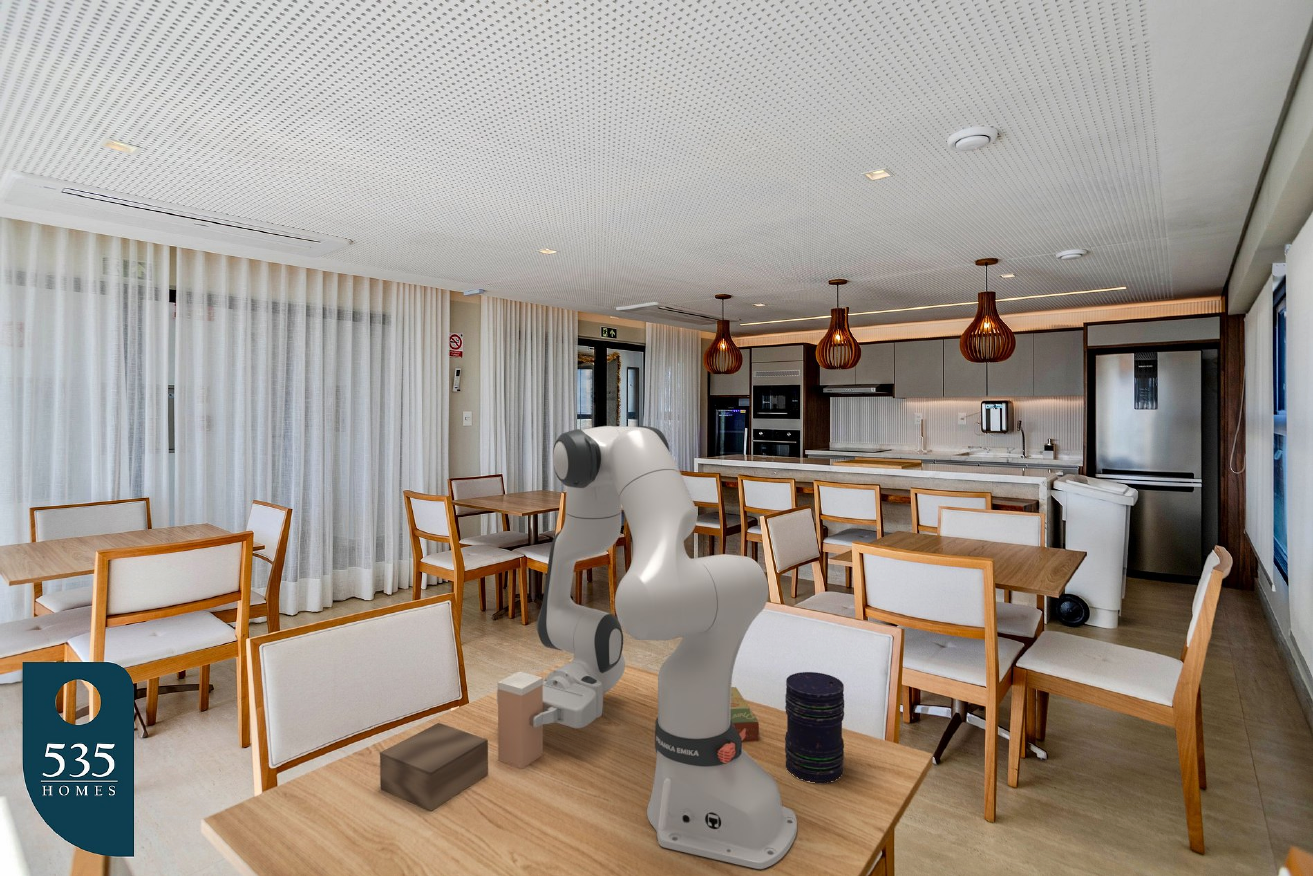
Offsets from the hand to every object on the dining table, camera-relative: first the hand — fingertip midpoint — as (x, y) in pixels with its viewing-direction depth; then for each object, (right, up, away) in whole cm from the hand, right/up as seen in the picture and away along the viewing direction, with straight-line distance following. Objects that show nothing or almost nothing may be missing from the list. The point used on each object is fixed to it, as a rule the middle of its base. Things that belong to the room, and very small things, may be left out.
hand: (517, 717), depth 115 cm
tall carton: (0, -7, +1) cm, 8 cm away
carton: (+39, -8, +15) cm, 42 cm away
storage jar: (+52, -8, -2) cm, 52 cm away
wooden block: (-12, -8, -7) cm, 16 cm away
